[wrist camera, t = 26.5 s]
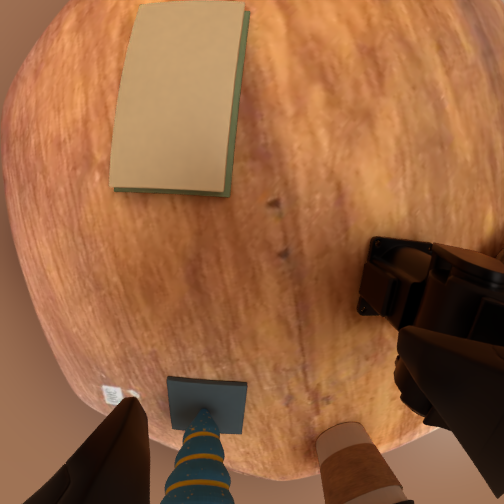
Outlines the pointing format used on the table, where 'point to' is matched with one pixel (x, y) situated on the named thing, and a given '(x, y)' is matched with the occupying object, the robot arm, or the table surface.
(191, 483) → the ornament
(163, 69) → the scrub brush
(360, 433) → the coffee cup
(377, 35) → the table surface
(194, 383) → the mat
